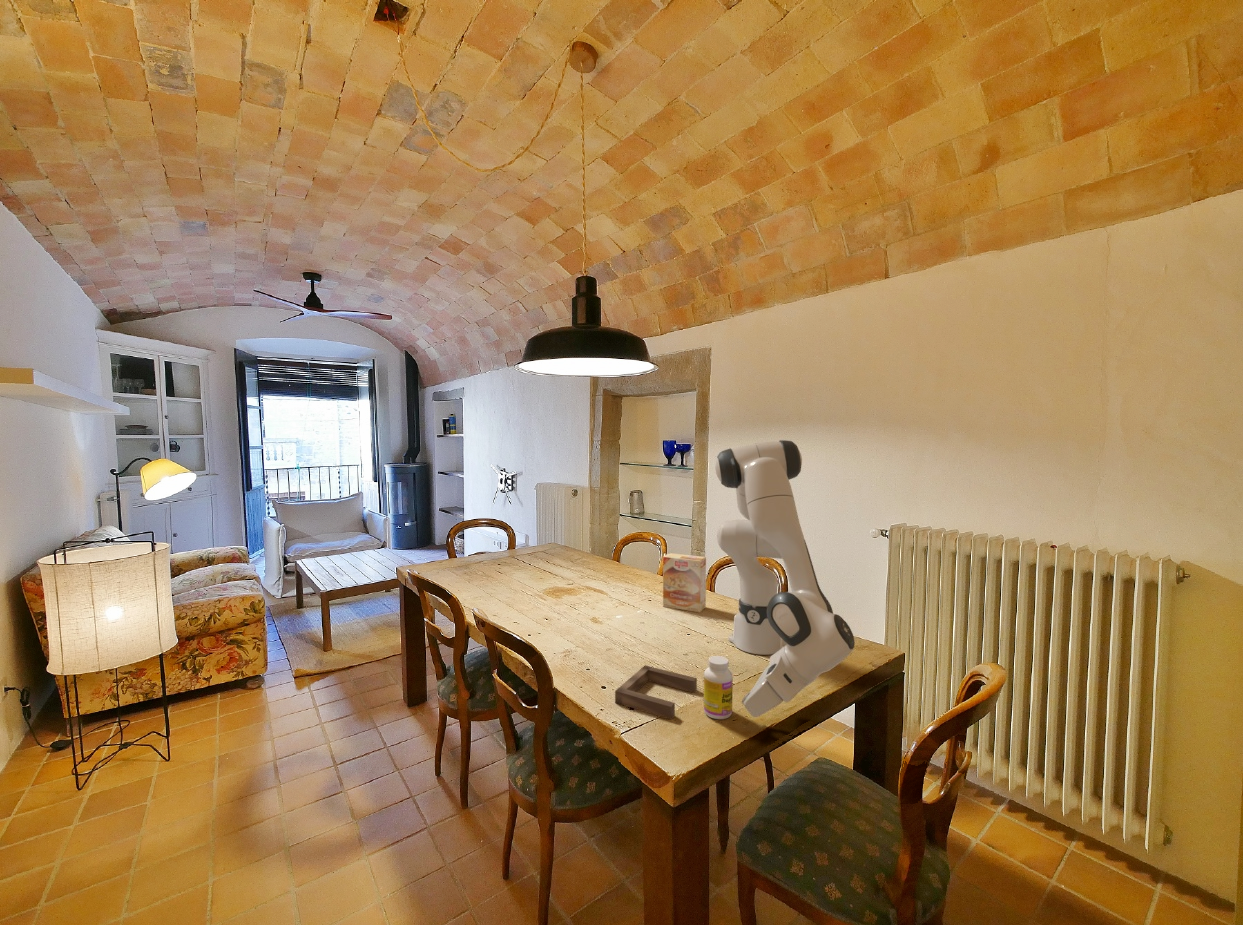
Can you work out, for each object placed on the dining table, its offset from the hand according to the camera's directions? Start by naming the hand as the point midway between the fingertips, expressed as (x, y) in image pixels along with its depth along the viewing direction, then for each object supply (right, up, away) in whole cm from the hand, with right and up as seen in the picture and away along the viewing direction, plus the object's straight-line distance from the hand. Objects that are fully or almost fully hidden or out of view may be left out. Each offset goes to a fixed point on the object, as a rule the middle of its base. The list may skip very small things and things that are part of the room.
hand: (745, 701), depth 119 cm
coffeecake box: (-5, 0, +78) cm, 78 cm away
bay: (-19, -4, +11) cm, 22 cm away
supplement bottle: (-6, -4, +3) cm, 8 cm away
